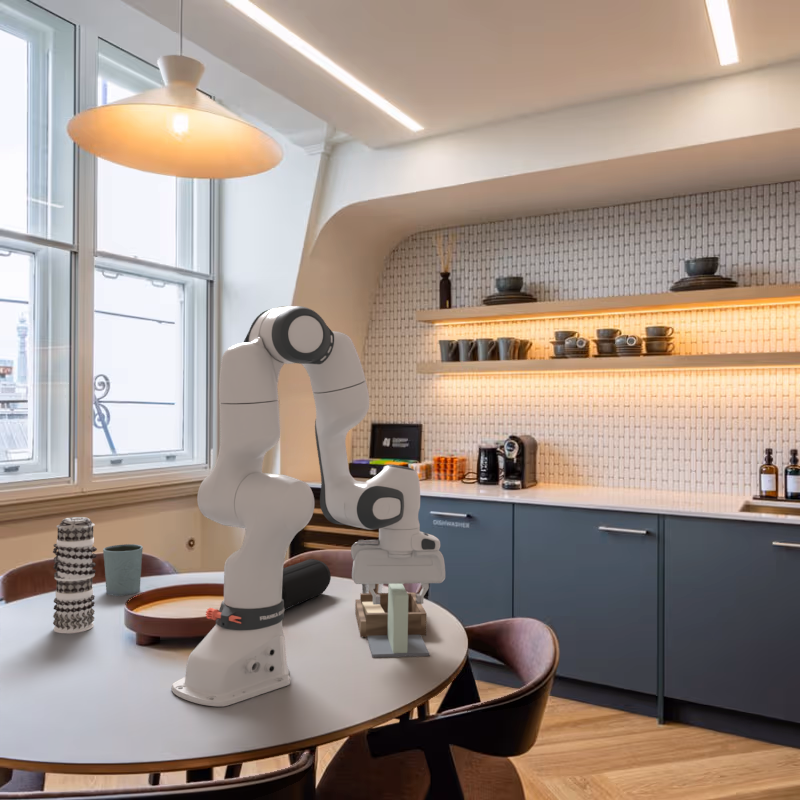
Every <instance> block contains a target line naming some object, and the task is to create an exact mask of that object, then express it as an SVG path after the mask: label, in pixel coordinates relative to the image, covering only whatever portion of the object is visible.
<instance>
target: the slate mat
mask: <svg viewBox="0 0 800 800" xmlns="http://www.w3.org/2000/svg"><path fill="white" fill-rule="evenodd" d="M366 638H367V641H368V642H367V643H368V646H369V650H370V654H371V657H372V658H394V657H395V658H397V657H428V656H429V657H430V651H429V649H428V648H427V645H426V643H425V641H424V639H423V637H422V636H421V635H420V634H419V635H408V646H407V653H393V651H392V648H391V645H390V642H389V639H388V636H387V635H375V636H367V637H366Z"/></svg>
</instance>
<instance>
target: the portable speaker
mask: <svg viewBox="0 0 800 800" xmlns="http://www.w3.org/2000/svg"><path fill="white" fill-rule="evenodd" d="M331 578H332V576H331V570H330V569H329V567H328V565H327V564H326V563H324V562H323V561H321V560H318V559H314V558H310V559H306V560H303V561H300V562H298V563H295V564H294V563H293V564H291V565H289V566H287V567H286V566H285V567H283V579H282V599H283V600H284V610H288V609H291V608H292V607H294V606H297V605H300V604H302V603H304V602H306V601H308V600H311V599H313V598H315V597H317V596H319V595H321V594H323V593H324V592H326V590H327V588H328V587H329V585H330V583H331Z"/></svg>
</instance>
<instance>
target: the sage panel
mask: <svg viewBox="0 0 800 800" xmlns="http://www.w3.org/2000/svg"><path fill="white" fill-rule="evenodd" d="M387 585H388V588H387V590H388V591H387V593H388V632H387V636H388V639H389V642H390V645H391V648H392V651H393V653H407V646H408V594H407V593H408V592H407V589H406V588H405V586H404V584H387Z"/></svg>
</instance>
